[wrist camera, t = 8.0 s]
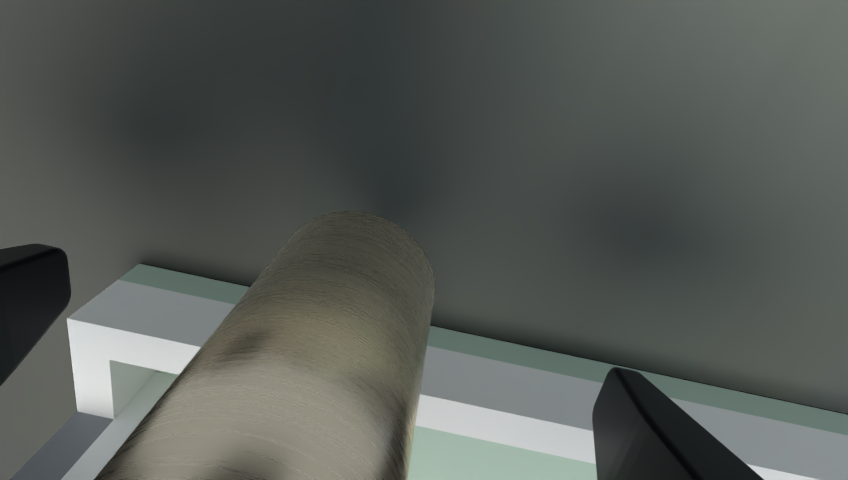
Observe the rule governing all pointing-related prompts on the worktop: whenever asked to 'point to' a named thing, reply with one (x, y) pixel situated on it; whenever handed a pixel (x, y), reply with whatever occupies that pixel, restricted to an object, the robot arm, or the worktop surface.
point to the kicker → (302, 368)
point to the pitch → (438, 403)
